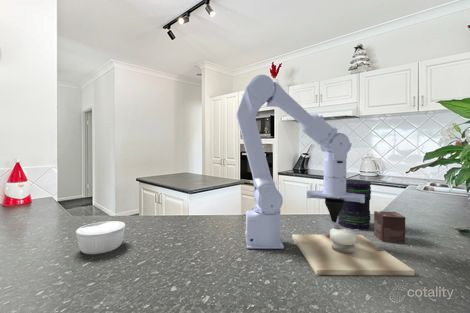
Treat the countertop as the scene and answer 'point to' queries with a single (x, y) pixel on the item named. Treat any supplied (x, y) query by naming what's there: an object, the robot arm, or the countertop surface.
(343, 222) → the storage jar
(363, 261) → the post board
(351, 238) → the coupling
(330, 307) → the countertop surface
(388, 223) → the box
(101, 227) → the ramekin
